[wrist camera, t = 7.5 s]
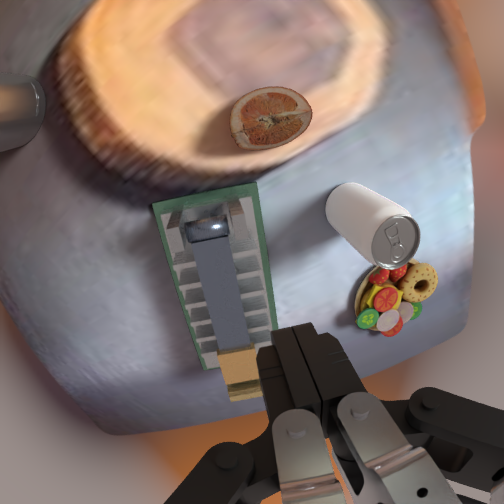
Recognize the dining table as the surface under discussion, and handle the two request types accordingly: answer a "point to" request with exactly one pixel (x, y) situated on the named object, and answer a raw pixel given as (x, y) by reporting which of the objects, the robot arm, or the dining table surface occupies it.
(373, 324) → the toy food set
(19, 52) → the dining table surface
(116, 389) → the dining table surface
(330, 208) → the can
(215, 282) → the grey and tan bar
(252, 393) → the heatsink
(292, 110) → the fruit slice
